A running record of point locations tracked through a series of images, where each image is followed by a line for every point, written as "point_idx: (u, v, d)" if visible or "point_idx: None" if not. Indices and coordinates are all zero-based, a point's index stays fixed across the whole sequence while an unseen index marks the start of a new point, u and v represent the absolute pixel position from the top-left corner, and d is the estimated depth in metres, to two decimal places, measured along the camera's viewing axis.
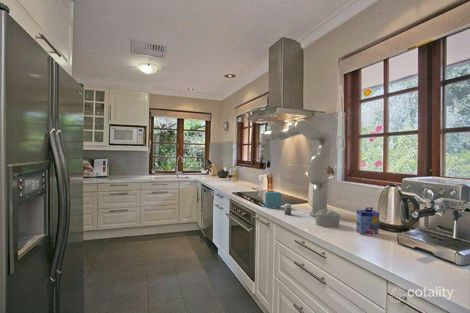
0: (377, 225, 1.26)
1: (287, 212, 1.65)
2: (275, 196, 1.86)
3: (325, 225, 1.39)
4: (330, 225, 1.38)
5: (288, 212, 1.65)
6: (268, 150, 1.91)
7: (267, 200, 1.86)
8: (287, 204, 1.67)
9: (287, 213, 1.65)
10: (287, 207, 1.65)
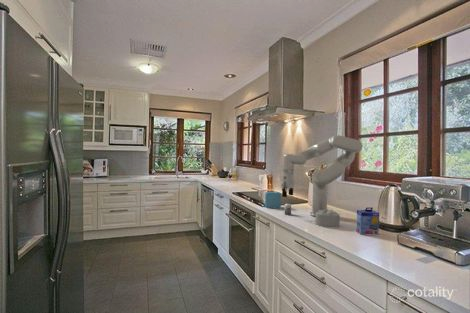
0: (377, 225, 1.26)
1: (287, 212, 1.65)
2: (275, 196, 1.86)
3: (325, 225, 1.39)
4: (330, 225, 1.38)
5: (288, 212, 1.65)
6: (292, 176, 1.65)
7: (267, 200, 1.86)
8: (287, 204, 1.67)
9: (287, 213, 1.65)
10: (287, 207, 1.65)
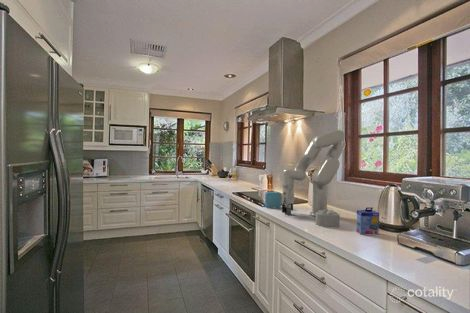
0: (377, 225, 1.26)
1: (287, 212, 1.65)
2: (275, 196, 1.86)
3: (325, 225, 1.39)
4: (330, 225, 1.38)
5: (288, 212, 1.65)
6: (291, 191, 1.66)
7: (267, 200, 1.86)
8: (287, 204, 1.67)
9: (287, 213, 1.65)
10: (287, 207, 1.65)
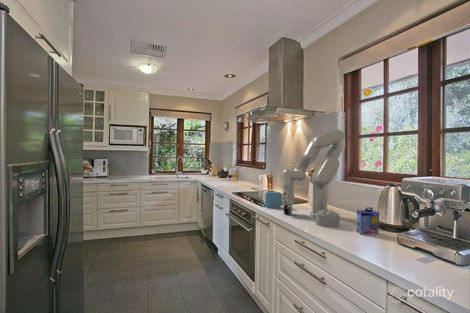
0: (377, 225, 1.26)
1: None
2: (275, 196, 1.86)
3: (325, 225, 1.39)
4: (330, 225, 1.38)
5: (288, 212, 1.65)
6: (291, 192, 1.66)
7: (267, 200, 1.86)
8: None
9: None
10: None
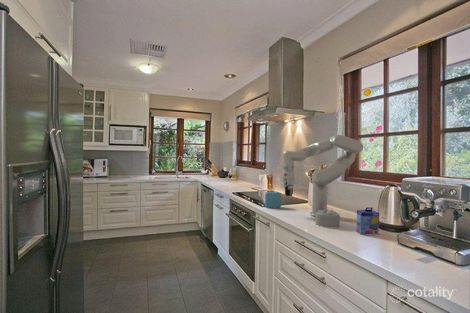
0: (377, 225, 1.26)
1: None
2: (275, 196, 1.86)
3: (325, 225, 1.39)
4: (330, 225, 1.38)
5: None
6: (292, 173, 1.65)
7: (267, 200, 1.86)
8: None
9: None
10: None
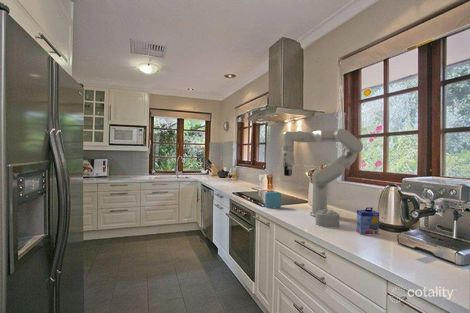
0: (377, 225, 1.26)
1: None
2: (275, 196, 1.86)
3: (325, 225, 1.39)
4: (330, 225, 1.38)
5: None
6: (292, 153, 1.67)
7: (267, 200, 1.86)
8: None
9: None
10: None
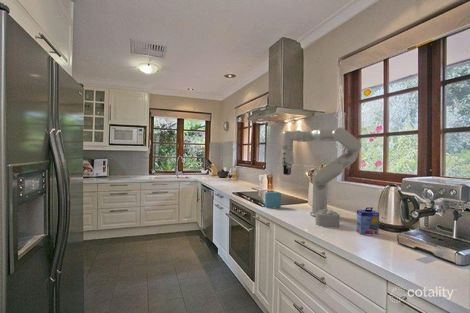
0: (377, 225, 1.26)
1: None
2: (275, 196, 1.86)
3: (325, 225, 1.39)
4: (330, 225, 1.38)
5: None
6: (291, 152, 1.70)
7: (267, 200, 1.86)
8: None
9: None
10: None
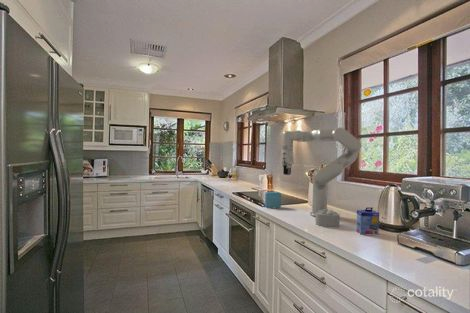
0: (377, 225, 1.26)
1: None
2: (275, 196, 1.86)
3: (325, 225, 1.39)
4: (330, 225, 1.38)
5: None
6: (291, 152, 1.70)
7: (267, 200, 1.86)
8: None
9: None
10: None
